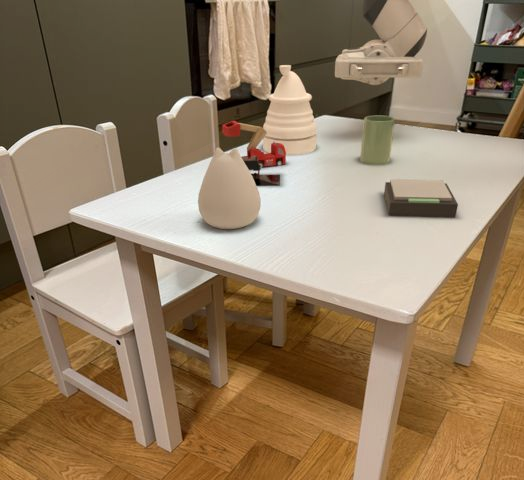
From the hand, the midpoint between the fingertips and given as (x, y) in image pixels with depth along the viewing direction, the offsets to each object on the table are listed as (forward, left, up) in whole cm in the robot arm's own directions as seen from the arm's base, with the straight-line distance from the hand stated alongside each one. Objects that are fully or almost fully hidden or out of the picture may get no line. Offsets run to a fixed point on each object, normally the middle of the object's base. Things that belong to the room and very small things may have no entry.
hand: (379, 71), depth 112 cm
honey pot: (+20, +2, -16) cm, 26 cm away
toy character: (+26, +50, -16) cm, 59 cm away
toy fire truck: (+26, +18, -16) cm, 36 cm away
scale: (-6, +40, -16) cm, 44 cm away
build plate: (+26, +28, -16) cm, 42 cm away
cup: (0, +12, -16) cm, 20 cm away
